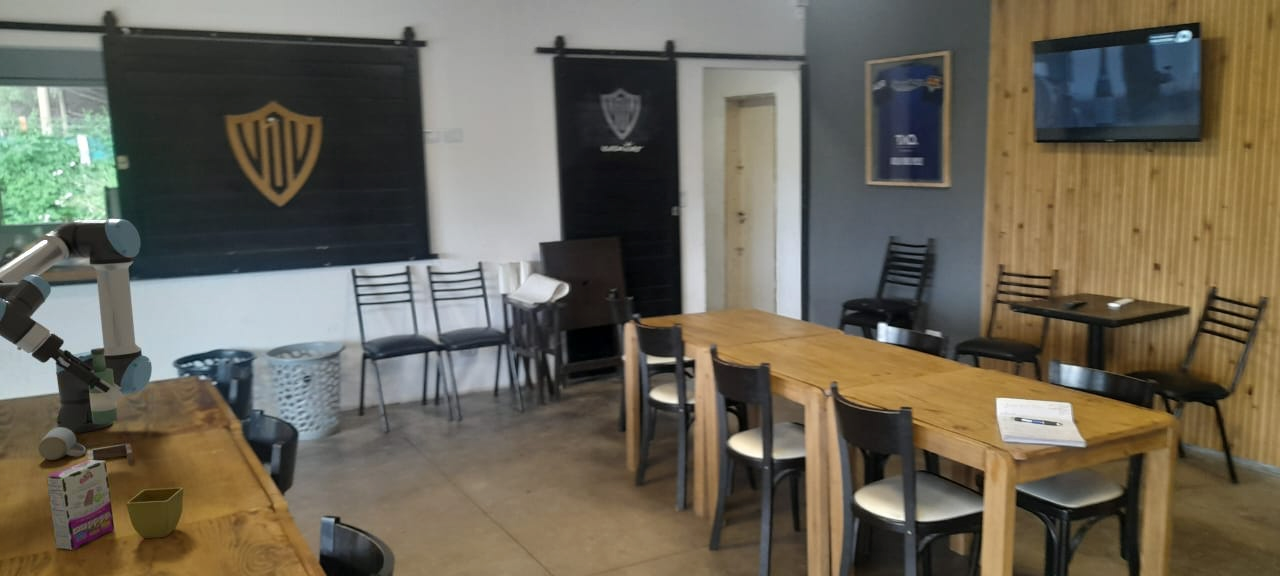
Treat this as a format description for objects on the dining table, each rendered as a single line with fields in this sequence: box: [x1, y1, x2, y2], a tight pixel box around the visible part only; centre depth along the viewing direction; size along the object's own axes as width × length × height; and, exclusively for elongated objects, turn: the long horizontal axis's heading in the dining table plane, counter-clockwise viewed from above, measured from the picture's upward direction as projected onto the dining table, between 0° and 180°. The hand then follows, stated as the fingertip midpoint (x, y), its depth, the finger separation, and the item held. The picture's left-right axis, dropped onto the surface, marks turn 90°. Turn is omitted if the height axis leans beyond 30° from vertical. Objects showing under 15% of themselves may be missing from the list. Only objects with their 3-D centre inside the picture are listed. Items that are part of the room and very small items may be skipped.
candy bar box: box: [46, 459, 115, 551], centre depth 201 cm, size 11×5×16 cm, turn 164°
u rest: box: [87, 442, 134, 465], centre depth 255 cm, size 10×10×3 cm
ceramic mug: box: [38, 427, 87, 461], centre depth 260 cm, size 11×8×8 cm
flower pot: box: [126, 487, 184, 539], centre depth 204 cm, size 9×9×9 cm
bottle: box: [89, 347, 119, 424], centre depth 251 cm, size 6×6×20 cm
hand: (118, 394), depth 254 cm, fingers closed on bottle, 6 cm apart
